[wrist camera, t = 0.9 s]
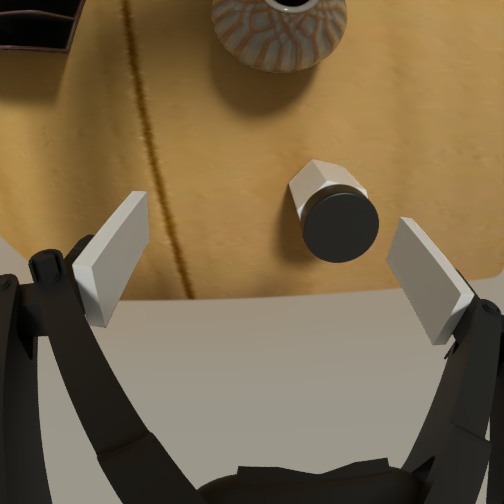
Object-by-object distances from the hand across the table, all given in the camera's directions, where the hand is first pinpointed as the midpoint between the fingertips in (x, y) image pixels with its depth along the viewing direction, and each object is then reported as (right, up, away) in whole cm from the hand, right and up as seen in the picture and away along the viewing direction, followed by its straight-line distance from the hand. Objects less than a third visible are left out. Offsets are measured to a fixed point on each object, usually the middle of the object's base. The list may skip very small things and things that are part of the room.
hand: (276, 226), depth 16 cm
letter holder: (-33, +32, +11) cm, 48 cm away
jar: (+8, +7, +26) cm, 28 cm away
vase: (+1, +26, +15) cm, 30 cm away
